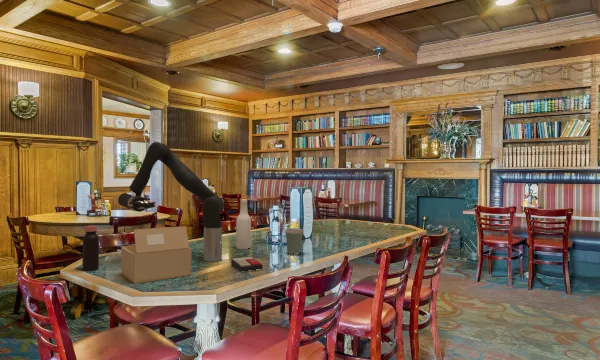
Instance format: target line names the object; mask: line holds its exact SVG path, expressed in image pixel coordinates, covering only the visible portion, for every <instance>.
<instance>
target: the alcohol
mask: <svg viewBox="0 0 600 360" xmlns="http://www.w3.org/2000/svg"><path fill="white" fill-rule="evenodd" d="M239 209H240V210H239V214H238V216H237V217H236V225H235V226H236V231H235V232H236V233H235V248H236V249H237V250H241V249H246V250H249V249H248V248H250V249H251V246H252V245H251V244H252V241H251V240H252V235H251V234H252V233H251V232H252V219H251V216H250V215H249V213H248V212H249V211H248V199H246V198H242V199H240V208H239Z"/></svg>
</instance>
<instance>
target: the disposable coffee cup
mask: <svg viewBox="0 0 600 360" xmlns="http://www.w3.org/2000/svg"><path fill="white" fill-rule="evenodd" d="M284 231H285V232H284V233H285V241H286V251H287V254H288V253H289V254H297V253H299V254H300V253H301V247H302V240H303V236H304V230H303V228H296V227H286V228H285V230H284ZM289 254H288V255H289Z"/></svg>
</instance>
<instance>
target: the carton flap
mask: <svg viewBox="0 0 600 360" xmlns="http://www.w3.org/2000/svg"><path fill="white" fill-rule="evenodd" d="M133 235H134V243H135V245H136V253H145V252H155V251H165V250H174V249H184V248H189V247H190V243H189V238H188V237H189V236H188V229H187V226H185V225H184V226H182V225H181V226H169V227H155V228H154V227H153V228H140V229H133ZM135 245H134V246H135Z"/></svg>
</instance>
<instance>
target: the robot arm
mask: <svg viewBox="0 0 600 360" xmlns="http://www.w3.org/2000/svg"><path fill="white" fill-rule="evenodd" d="M158 161H159V162H160V163H163V164H164V165H165V167H167V168H168V169H169V170H170V173H171V174H172V176H173V178H174V179H175V180H176V182H177V183H179V184H180V186H181V187H183V189H185V190H186V191H188V192H189V193H191V194H193V195H194V196H196V197H197V198H199V199H200V200H201V201H202V207H201V208H202V213H201V214H202V222H203V257H202V258H203V261H205V262H210V263H211V262H212V263H213V262H219V261H220V262H221V260H222V261H223V252H222V251H223V240H222V239H223V237H222V236H223V222H222V221H221V219H220V215H221V214H220V213H221V212H223V211H224V209H225V202H224V200H223V199H222V198H221V197H220V196H219V195H218V194H216V193H215V192H214V191H213V190H211V189H210V188H209V187H208V186H207V185H206V184H205V183H204V182H203V181H202V180H201V179H200V177H198V176H197V175H196V173H195V172H194V171H193V170H192V169H190V168H189V167H188V166H187V165H186V164H185V163H184V162H183V161H181V160H180V159H179V157H177V155H176V154H175V153H174V152H173V151H172V149H171V148H170V147H169V146H168V145H167V144H165V143H163V142H159V141H154V142H151V144H150V145H149V146H148V149H147V151H146V152H145V156H144V158H143V161H142V163H141V166H140V168H139V169H138V172H137V173H136V176H135V177H134V179H133V180H132V181H131V184H130V186H128V187H129V191H131V192H133V193H134V194H135V195H132V194H129V193H127V192H124V193H121V194H119V196H118V199H117V202H118V204H119V205H120V206H122V207H124V208H127V209H128V210H132V211H135V212H137V213H140V212H144V211H145V210H147V209H153V208H155V207H156V201H151V202H150V201H148V200H147V199H146V198H145V197H144V196H142V194H143V192H144V190H145V188H146V187H147V186H148V183H149V181H150V179H151V178H150V177H151V174H152V170H153V168H154V166H155V164H156V163H157V162H158Z"/></svg>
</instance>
